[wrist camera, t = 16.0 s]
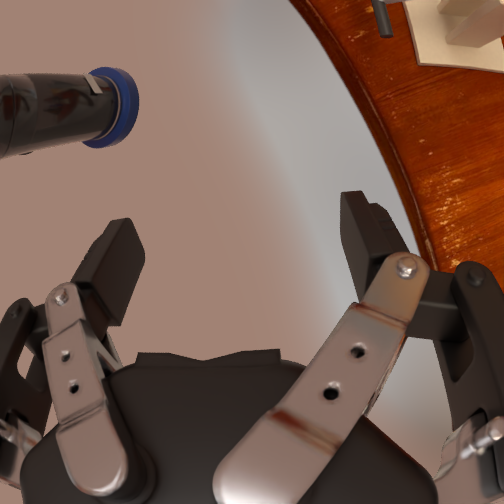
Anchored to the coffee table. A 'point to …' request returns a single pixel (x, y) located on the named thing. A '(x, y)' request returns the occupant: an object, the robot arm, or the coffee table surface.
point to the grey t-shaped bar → (383, 17)
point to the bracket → (457, 33)
